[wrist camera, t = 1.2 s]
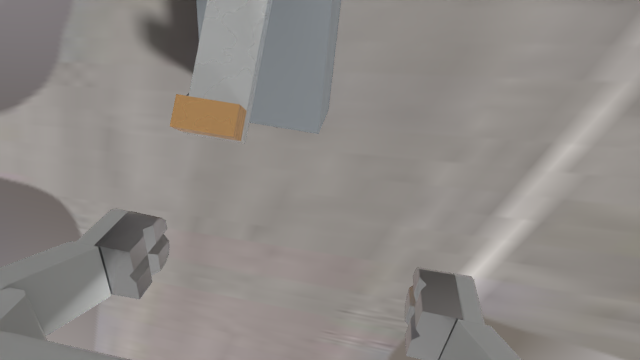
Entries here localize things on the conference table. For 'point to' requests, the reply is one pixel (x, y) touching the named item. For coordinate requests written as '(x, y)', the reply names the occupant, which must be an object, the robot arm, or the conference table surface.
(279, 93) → the clamp block
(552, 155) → the conference table surface
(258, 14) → the lever
